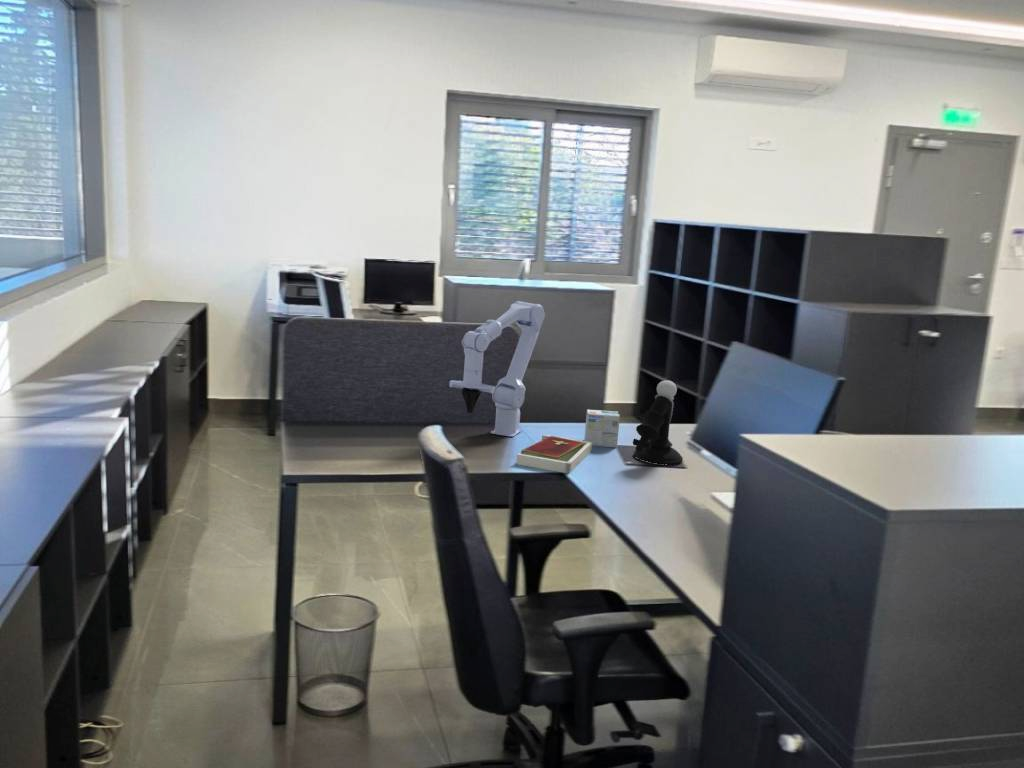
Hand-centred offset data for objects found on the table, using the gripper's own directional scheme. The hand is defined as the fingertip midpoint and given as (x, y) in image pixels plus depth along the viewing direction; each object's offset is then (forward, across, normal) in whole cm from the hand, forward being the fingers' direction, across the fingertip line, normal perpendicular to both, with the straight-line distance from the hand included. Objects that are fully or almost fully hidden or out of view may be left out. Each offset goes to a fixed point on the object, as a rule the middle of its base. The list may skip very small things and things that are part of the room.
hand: (470, 412), depth 270 cm
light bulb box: (+10, +38, +22) cm, 45 cm away
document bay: (+9, +29, -2) cm, 30 cm away
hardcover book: (+10, +28, -2) cm, 30 cm away
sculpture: (+10, +57, +12) cm, 59 cm away
